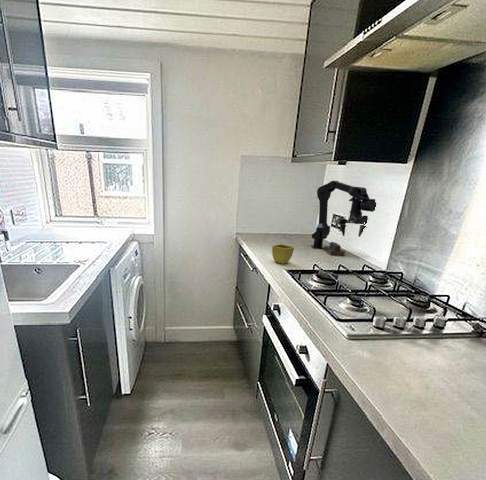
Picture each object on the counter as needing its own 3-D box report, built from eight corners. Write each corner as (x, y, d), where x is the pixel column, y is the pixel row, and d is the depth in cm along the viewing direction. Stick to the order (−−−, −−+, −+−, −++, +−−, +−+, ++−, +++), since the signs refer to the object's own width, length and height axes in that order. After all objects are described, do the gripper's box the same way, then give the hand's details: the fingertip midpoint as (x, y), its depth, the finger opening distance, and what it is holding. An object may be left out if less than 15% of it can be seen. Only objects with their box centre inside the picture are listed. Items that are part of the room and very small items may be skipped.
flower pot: (279, 259, 171) (280, 243, 168) (292, 262, 165) (294, 246, 162) (270, 261, 165) (271, 245, 162) (283, 265, 159) (285, 249, 156)
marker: (328, 246, 197) (329, 241, 196) (333, 246, 197) (334, 241, 196) (334, 250, 186) (335, 245, 185) (339, 251, 186) (340, 245, 185)
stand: (324, 249, 199) (324, 245, 198) (336, 250, 198) (337, 246, 197) (330, 255, 185) (331, 251, 184) (344, 255, 185) (344, 251, 184)
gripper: (344, 210, 168) (340, 238, 173) (379, 211, 167) (373, 239, 172) (337, 208, 178) (333, 234, 183) (370, 209, 178) (365, 236, 182)
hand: (351, 236), depth 180 cm, fingers open, 9 cm apart
